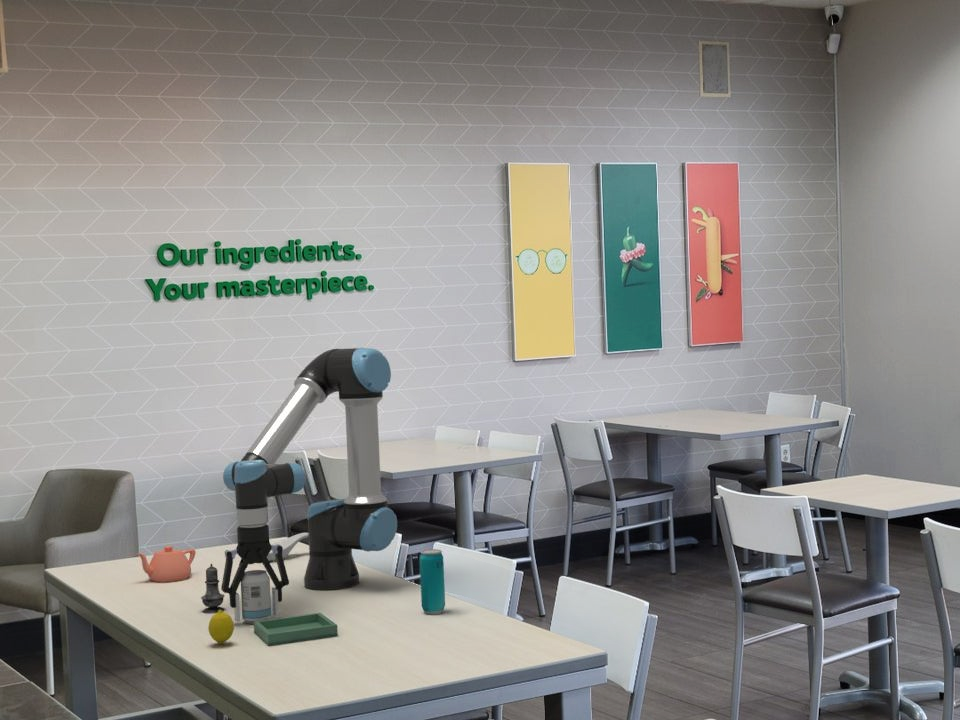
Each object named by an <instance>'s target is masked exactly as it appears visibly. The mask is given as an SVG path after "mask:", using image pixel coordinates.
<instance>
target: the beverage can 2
mask: <svg viewBox="0 0 960 720" xmlns="http://www.w3.org/2000/svg"><path fill="white" fill-rule="evenodd" d="M442 552H443V551H442V549H437V548H434V549H433V548H432V549H423V550H421V551H420V556H419V574H420V578H419V579H420V598H421V601H420V602H421V609H422V610H423V612H424V614H425V615H430V614H434V615H439V614H442V613H443V612H444V610H445V607H446V592H445V591H446V590H445V588H446V587H445V570H444V569H445V567H444V556H443V553H442Z"/></svg>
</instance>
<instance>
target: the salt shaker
mask: <svg viewBox="0 0 960 720" xmlns="http://www.w3.org/2000/svg"><path fill="white" fill-rule="evenodd" d="M209 565H210V566H209V567H208V568H206V570H205V581H204V583H205V589H206V591H205V594H204V595H202V596H201V597H200V599H201V601H202V605H204V606H205V608H204V609H203V610H202V613H204V614H216V613H217V612H218V611H219V610H220V609H221V610H222V611H223V612H224V610H225V609H224V607H223V606H221V605H222V604H223V603H224V598H225V594H222V593H220V590H219V589H220V588H219V582H220V580H219V578H218V576H219V575H218V568H217V567H216V566H215V567H214V566H213V564H212V563H210V564H209Z"/></svg>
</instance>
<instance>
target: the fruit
mask: <svg viewBox="0 0 960 720" xmlns="http://www.w3.org/2000/svg"><path fill="white" fill-rule="evenodd" d="M234 630H235V625H234V621H233V618H232V616H231V615H230V614H228V613H226V612H224V610H223V611H222V610H221V609H220V610H219V611H218V612H217V613H214V615H212V616H211V618H210V621H209V622H208V632H209V635H210V637H211V638H212V640H214V641H215V642H216V643H217V644H218V645H220V646H221V645H224V644H225V643H226V642H227V641H229V640H230V638H232V635H233V633H234Z"/></svg>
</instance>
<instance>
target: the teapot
mask: <svg viewBox="0 0 960 720" xmlns="http://www.w3.org/2000/svg"><path fill="white" fill-rule="evenodd" d="M163 548H164V549H162V550H158V551H155V553H154V554H153V556H152V557H151V560H150V561H149V562H148V559H147V557H146V554H144V553H138V552H137V553H135V555H137V556H139V558H140V559H141V564H142V565H141V566H142V569H143V571H144V573H146V575H148V578H149V579H150V581H152V582H153V581H154V583H160V582H166V583H173V582H172V581H175V582H179V580H181V581H184V580H183V579H185V580H187V579H188V578H189V577H190V575H191V574H192V568H191V564H193V561H194V559H195V556H196V549H195V548H190V549H186V550H181V549H175V548H174V546H172V545H167V546H166V545H164V547H163ZM186 554H189V558H188V557H187V555H186ZM186 578H187V579H186Z"/></svg>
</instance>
